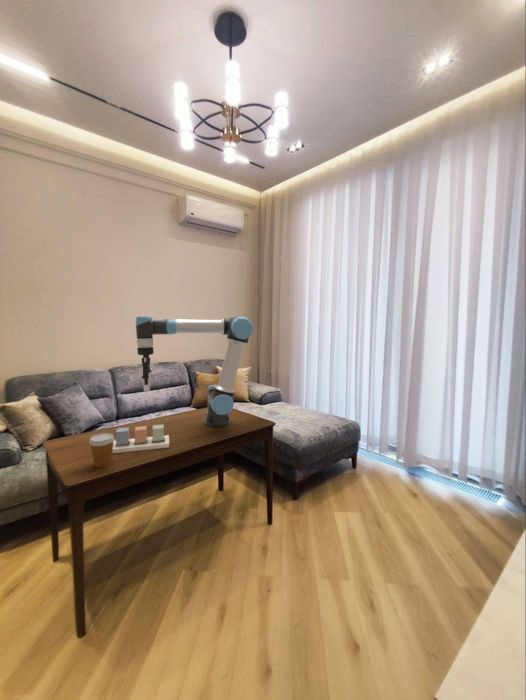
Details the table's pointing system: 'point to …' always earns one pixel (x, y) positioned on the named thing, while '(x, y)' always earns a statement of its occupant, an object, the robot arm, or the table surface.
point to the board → (140, 445)
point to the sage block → (158, 432)
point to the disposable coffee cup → (102, 449)
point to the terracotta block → (140, 434)
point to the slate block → (122, 435)
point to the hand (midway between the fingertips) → (147, 387)
